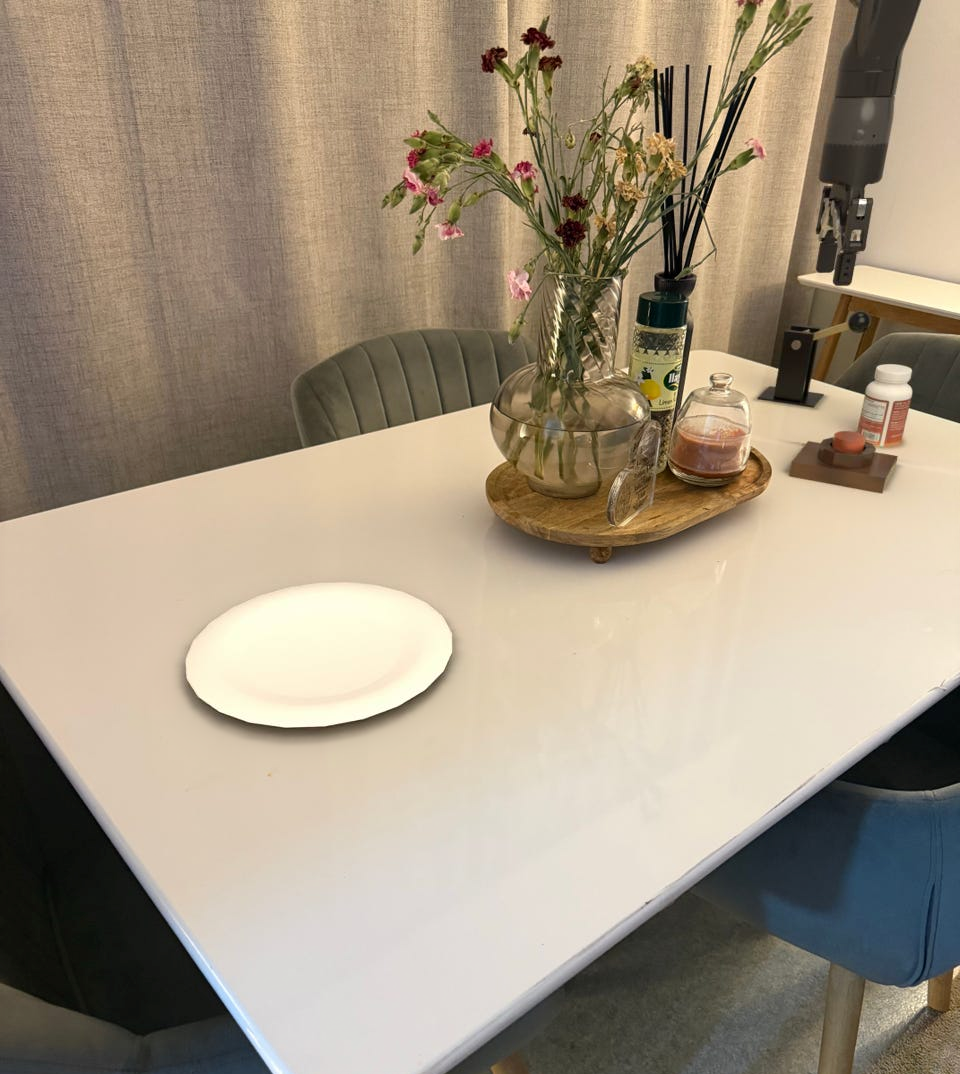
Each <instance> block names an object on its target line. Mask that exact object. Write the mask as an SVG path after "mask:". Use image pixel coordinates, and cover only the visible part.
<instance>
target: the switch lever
mask: <svg viewBox="0 0 960 1074" xmlns="http://www.w3.org/2000/svg"><path fill="white" fill-rule="evenodd" d="M871 323H872V318H871V315H870V314H869V313H868V312H866V311H864V310H858V311H854V312H853V313H852V314H851V315H850V317H849V318H848V321H846V322H843V323H840V324H836V325H833V326H831V327H827V328H824V329H820V331H818V332H815V333H814V339H813V341H814V340H817V339H818V340H819V339H823V338H826V337H830V336H832V335H836V334H840V333H841V332H845V331H848V330H849V331H851V332H853V333H855V334H862V333H864V332H866V331H867V330H868V329H869V327H870V326H871ZM802 332H809V333H810V330H809V329H808V330H805V331H802Z"/></svg>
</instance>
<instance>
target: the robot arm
mask: <svg viewBox="0 0 960 1074" xmlns="http://www.w3.org/2000/svg"><path fill="white" fill-rule="evenodd" d="M847 1H848V3H850V5H851V6H852V7H854V8H855V9H856V10H857V13H856V17H855V21H854V26H853V29H852V33H851V37H850V39H849V40H848V41H847V42H846V43H845V45H844V46H843V47H842V50H841V53H840V56H839V60H838V65H837V71H836V77H835V84H834V90H833V97H832V101H831V105H830V108H829V112H828V115H827V121H826V128H825V133H824V140H823V146H822V152H821V158H820V164H819V172H818V180H819V182H821V183H822V184H823V183H824V184H826V185H824V186H823V188H822V194H821V199H820V205H819V211H818V216H817V222H816V228H815V234H816V235H818V237H817V239H818V242H820V243H819V247H818V253H817V259H816V265H815V271H816V272H817V273H818V274H830V273H833V277H832V284H833V285H834V286H836V287H848V286H850V285H851V284H852V282H853V277H854V271H855V267H856V261H857V256H858V255H859V254H860V252H864V251H865V250H866V247H867V240H868V235H869V230H870V225H871V224H870V222H871V218H872V212H873V205H874V198H873V197H865V194H866V193H865V192H866V190H865V189H866V186H868V185H873V184H878V183H879V182H880V181H882V179H883V177H884V176H883V175H884V169H885V166H886V165H885V164H886V160H887V154H888V149H889V145H890V138H891V133H892V127H893V122H894V113H895V101H896V95H897V89H898V83H899V78H900V73H901V67H902V62H903V54H904V51H905V48H906V45H907V43H908V40H909V37H910V35H911V32H912V30H913V27H914V23H915V20H916V18H917V14H918V12H919V9H920V5H921V3H922V0H847ZM827 184H828V185H827ZM851 239H852V240H851ZM833 271H834V272H833Z"/></svg>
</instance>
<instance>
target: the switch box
mask: <svg viewBox="0 0 960 1074" xmlns="http://www.w3.org/2000/svg"><path fill="white" fill-rule="evenodd" d="M833 438H834V436H832V437H829V438H824V439H822V440H821V442H816V441H812V440H811V441H810V440H808V441H807V442H806V443H805V445H803V447H802V448H801V450H800V451H799V452H798V453H797V454H796V456H795V457H794V458H793V460H791V464H790V470H789V476H788V477H790V478H795V479H800V480H806V481H812V482H817V483H822V484H828V485H833V486H839V487H843V488H850V489H855V490H861V491H864V492H865V491H866V492H870V493H871V492H872V493H876V494H881V495H882V494H883V493H884V491H885V489H886V487H887V485H888V484H889V482H890V480H891V478H892V476H893V474H894V472H895V470H896V466H897V463H898V462H897V461H898V457H899V456H898V455H893V454H888V453H883V452H877V448H876V447H875V445H872V444H871V443H869V442H866V441H865V445H864V449H863V451H861V452H845V451H839V450H837V449H834V448H832V443H833Z"/></svg>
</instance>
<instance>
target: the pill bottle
mask: <svg viewBox="0 0 960 1074" xmlns="http://www.w3.org/2000/svg"><path fill="white" fill-rule="evenodd" d="M874 372H875V373H874V380H873V381H871V382H870V383H869V384H867V386H866V388H865V392H864V397H863V402H862V407H861V411H860V415H859V416H860V417H859V421H858V424H857V425H858V426H857V433H860V434H863V435H864V436H865V437H866V440H865V441H866V442H869V443H871V444H872V445H873V446H877V447H892V446H897V445H899V444H901V443H902V440H903V436H904V431H905V427H906V423H907V418H908V416H909V415H908V414H909V410H910V406H911V402H912V397H913V388H912V387H911V385H909V384H908V382H909V381H911V378H912V374H913V370H912V368H911V367H909V366H906V365H903V364H896V363H895V364H893V363H885V364H880V365H877V366H876V368H875V371H874Z"/></svg>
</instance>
